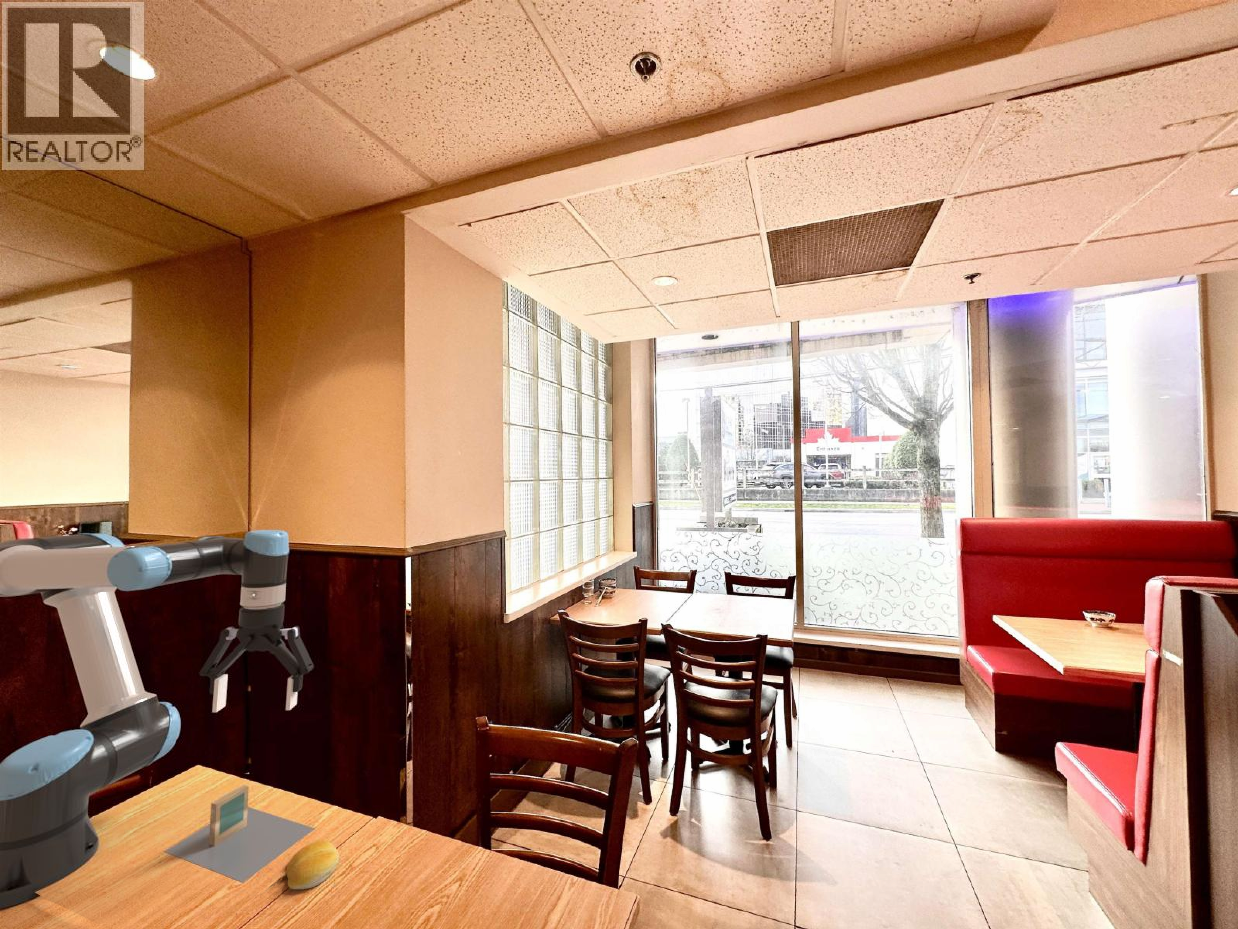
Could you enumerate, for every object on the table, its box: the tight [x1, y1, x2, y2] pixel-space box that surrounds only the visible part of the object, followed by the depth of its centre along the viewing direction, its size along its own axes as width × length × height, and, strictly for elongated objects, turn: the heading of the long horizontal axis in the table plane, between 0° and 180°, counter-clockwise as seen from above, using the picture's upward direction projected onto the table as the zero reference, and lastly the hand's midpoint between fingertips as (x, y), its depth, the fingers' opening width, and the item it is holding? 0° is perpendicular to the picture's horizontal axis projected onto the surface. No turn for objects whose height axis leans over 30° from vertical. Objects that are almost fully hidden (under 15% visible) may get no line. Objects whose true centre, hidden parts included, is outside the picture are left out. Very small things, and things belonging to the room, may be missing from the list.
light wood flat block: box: [209, 784, 250, 846], centre depth 95 cm, size 2×6×8 cm, turn 162°
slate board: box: [163, 806, 316, 883], centre depth 94 cm, size 22×14×1 cm, turn 72°
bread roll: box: [285, 840, 340, 891], centre depth 88 cm, size 8×9×4 cm
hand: (255, 708), depth 97 cm, fingers open, 13 cm apart
